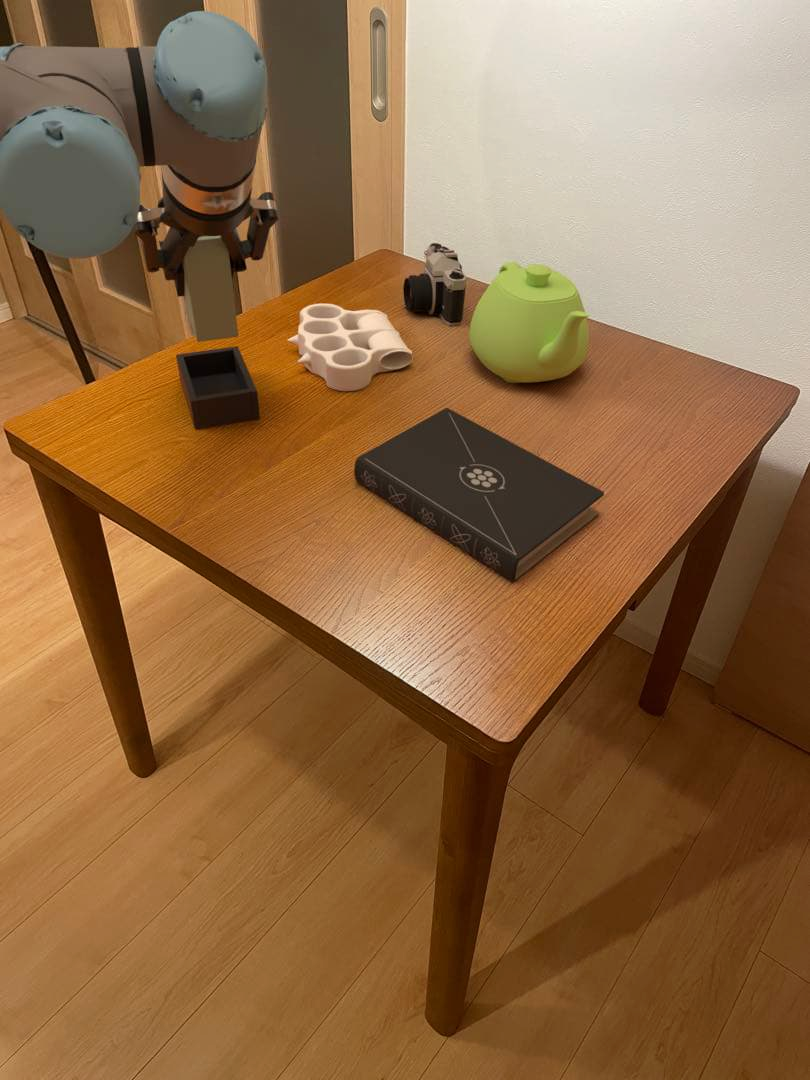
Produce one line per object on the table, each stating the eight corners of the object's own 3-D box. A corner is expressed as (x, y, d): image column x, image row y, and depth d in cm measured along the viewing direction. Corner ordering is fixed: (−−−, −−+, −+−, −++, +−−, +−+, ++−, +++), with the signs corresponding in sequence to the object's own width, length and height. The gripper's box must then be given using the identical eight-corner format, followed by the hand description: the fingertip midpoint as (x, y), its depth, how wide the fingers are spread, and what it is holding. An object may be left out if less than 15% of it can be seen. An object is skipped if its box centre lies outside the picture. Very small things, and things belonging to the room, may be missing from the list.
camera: (392, 290, 121) (394, 233, 115) (440, 285, 123) (445, 228, 117) (418, 336, 113) (422, 277, 106) (469, 329, 115) (476, 271, 108)
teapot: (619, 402, 100) (644, 304, 91) (510, 420, 96) (525, 319, 87) (542, 323, 115) (557, 232, 106) (445, 335, 111) (452, 242, 102)
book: (353, 481, 86) (353, 459, 84) (445, 428, 94) (446, 407, 92) (511, 584, 75) (515, 561, 73) (599, 514, 83) (605, 492, 81)
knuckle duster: (420, 381, 102) (308, 398, 98) (378, 318, 114) (277, 330, 111) (421, 358, 100) (307, 373, 96) (378, 296, 112) (276, 308, 108)
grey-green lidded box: (196, 342, 86) (180, 236, 79) (185, 310, 92) (168, 208, 84) (239, 336, 88) (226, 231, 80) (225, 305, 93) (212, 204, 85)
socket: (195, 429, 92) (190, 401, 90) (180, 381, 100) (175, 354, 97) (260, 418, 94) (257, 390, 92) (240, 372, 102) (237, 345, 99)
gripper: (109, 228, 65) (128, 324, 88) (317, 208, 70) (285, 304, 92) (90, 139, 65) (114, 258, 88) (299, 126, 70) (271, 241, 93)
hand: (202, 281), depth 90 cm, fingers closed on grey-green lidded box, 4 cm apart
